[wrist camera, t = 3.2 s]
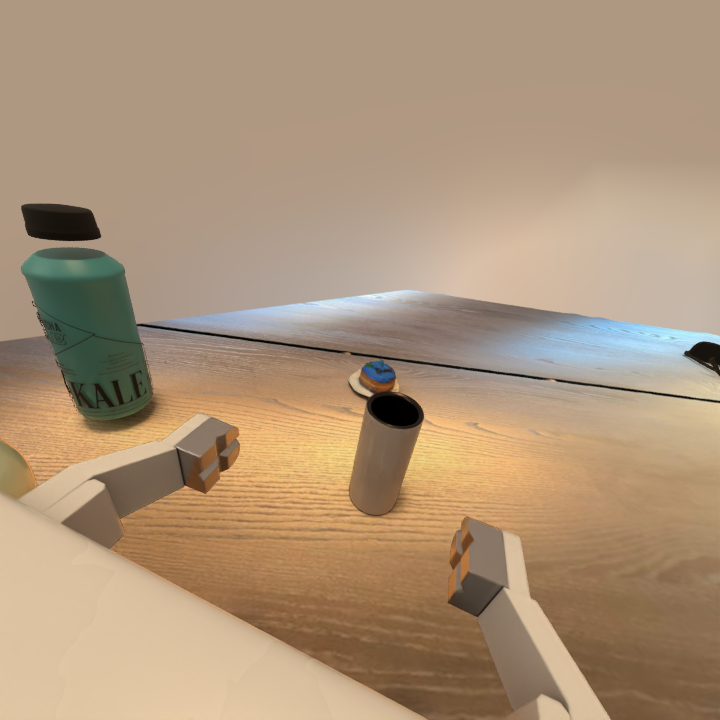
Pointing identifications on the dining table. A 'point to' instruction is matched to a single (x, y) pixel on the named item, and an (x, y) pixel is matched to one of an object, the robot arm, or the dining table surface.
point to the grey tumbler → (384, 450)
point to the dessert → (374, 379)
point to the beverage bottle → (86, 314)
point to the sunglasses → (706, 355)
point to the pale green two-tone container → (15, 472)
